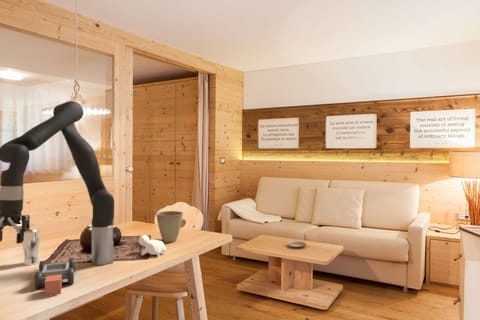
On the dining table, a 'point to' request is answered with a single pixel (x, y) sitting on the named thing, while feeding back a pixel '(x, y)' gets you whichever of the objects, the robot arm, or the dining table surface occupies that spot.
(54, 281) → the terracotta rectangular box
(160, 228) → the plant pot
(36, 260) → the beer glass
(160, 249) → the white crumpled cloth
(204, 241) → the dining table surface
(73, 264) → the chassis
